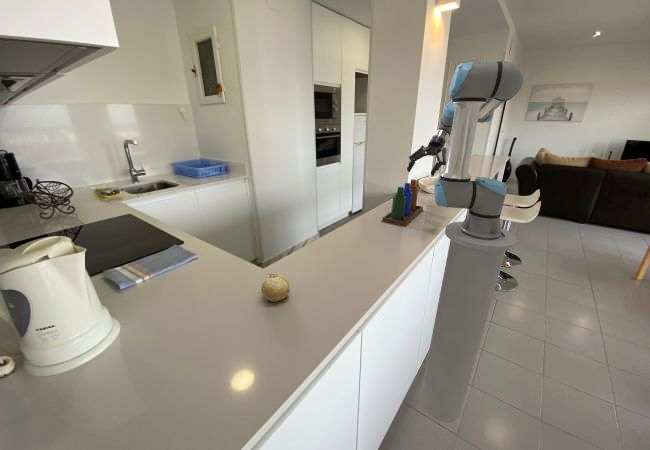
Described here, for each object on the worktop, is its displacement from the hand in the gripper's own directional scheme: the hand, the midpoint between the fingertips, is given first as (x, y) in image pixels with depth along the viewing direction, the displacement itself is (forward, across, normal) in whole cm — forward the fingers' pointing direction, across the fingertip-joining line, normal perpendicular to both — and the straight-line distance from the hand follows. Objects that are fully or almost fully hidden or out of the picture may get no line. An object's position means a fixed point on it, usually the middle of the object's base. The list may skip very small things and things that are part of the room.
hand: (419, 172), depth 143 cm
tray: (+22, 0, -8) cm, 24 cm away
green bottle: (+29, -2, -1) cm, 29 cm away
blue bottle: (+22, 0, -8) cm, 23 cm away
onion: (+84, -16, +54) cm, 102 cm away
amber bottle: (+15, +3, -14) cm, 21 cm away
